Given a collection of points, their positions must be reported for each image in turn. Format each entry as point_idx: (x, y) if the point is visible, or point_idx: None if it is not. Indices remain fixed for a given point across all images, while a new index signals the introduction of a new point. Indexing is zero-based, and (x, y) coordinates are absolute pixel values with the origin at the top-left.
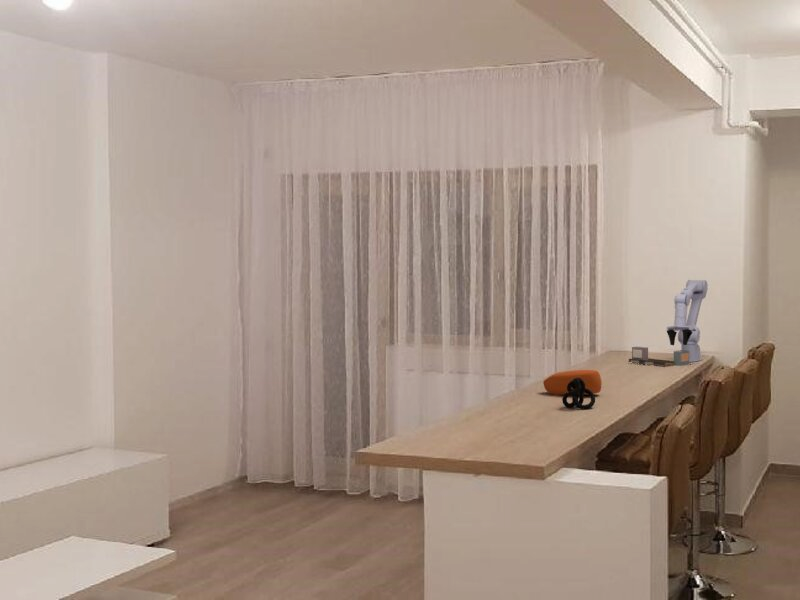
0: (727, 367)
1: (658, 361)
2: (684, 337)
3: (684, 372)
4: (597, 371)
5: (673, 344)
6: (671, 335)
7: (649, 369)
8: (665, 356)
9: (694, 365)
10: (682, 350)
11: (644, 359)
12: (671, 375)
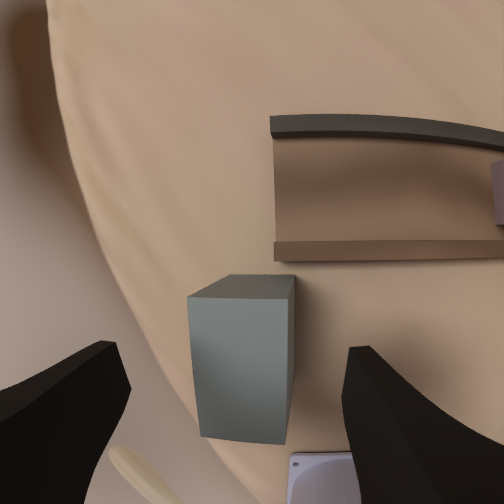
0: None
1: (426, 240)
2: (24, 385)
3: (68, 81)
4: None
5: (344, 395)
6: (404, 477)
7: (263, 4)
8: None
9: (178, 358)
10: (260, 419)
11: (501, 178)
12: (82, 3)
